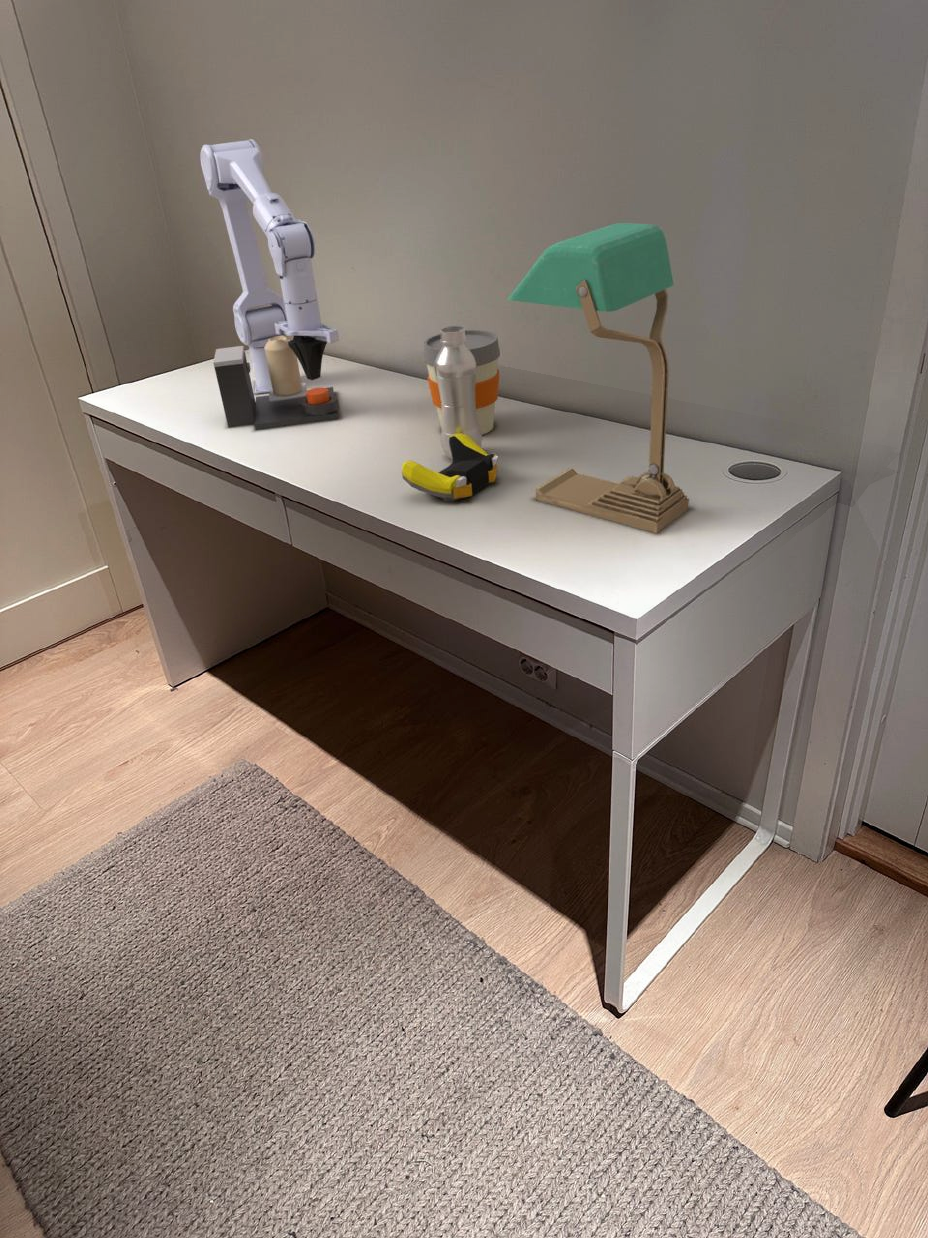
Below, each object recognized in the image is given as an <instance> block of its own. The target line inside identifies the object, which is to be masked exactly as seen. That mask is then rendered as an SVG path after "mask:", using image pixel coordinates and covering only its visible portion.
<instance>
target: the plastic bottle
mask: <svg viewBox="0 0 928 1238" xmlns="http://www.w3.org/2000/svg"><path fill="white" fill-rule="evenodd" d="M465 330H466V329H465V326H462V325H449V326H445V327H442V328H441V329H440V332H439V334H441V339H440V343H441V344H443V346H442V348H441V350H440V351H439V353H438V355H437V357H436V359H435V363H434V371H435V375H436V380H437V384H438V388H439V393H440V400H441V406H442V430H441V432H440V444H441V448H442V451H443V453H444V454H445V456H446V457H448V458H450V459H452V455H451V451H450V447H449V438H450V436H453V435H455V434H457V433H461V434H464V435H467V436H469V437H470V438H471V439H472V440H473V441H474V442H475V443H476V444H477V445H478V446H480V447H481V448H482V445H483V435H481V430H480V427H479V425H478V418H477V412H476V405H475V380H476V361H475V358H474V356H473V354H472V353H471V352H470V350H469V349H468V348H467V347H466V345H465V344H464V342H465V341H466V337H465Z"/></svg>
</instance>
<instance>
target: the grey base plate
mask: <svg viewBox="0 0 928 1238" xmlns="http://www.w3.org/2000/svg"><path fill="white" fill-rule="evenodd" d="M326 388H327V389H328V392H329V398H330V400H329V401H328V402H325V403H321V404H309V403H308V400H307V397H303V398H295V399H288V400H280V401H272V402H269V394H268V395H260V396H255V402H256V404H255V420H254V424H253V425H254V426H253V427H254V431H262V430H268V429H269V430H271V429H277V428H278V429H279V428H284V427H285V428H286V427H291V426H299V425H300V426H301V425H306V424H307V425H308V424H315V423H321V422H322V423H323V422H329V421H337V420H339V414H338V410H339V409H340V405H339V399H338V396H337V395H336V394H335V391H334V387H333V386H328V387H326ZM308 390H309V389H307V391H308Z"/></svg>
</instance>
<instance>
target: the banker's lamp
mask: <svg viewBox="0 0 928 1238" xmlns="http://www.w3.org/2000/svg"><path fill="white" fill-rule="evenodd" d="M673 286H674V279H673V273H672V267H671V261H670V256H669V249H668V244H667V238H666V236H665V234H664V231H663V230H662V229H661V228H660V227H659V226H658V225H654V224H652V223H651V224H650V223H633V222H632V223H631V222H620V223H613V224H610V225H608V226H603V227H601V228H597V229H595V230H592V231H588V232H585V233H583V234H579V235H576V236H573V237H570V238H567V239H564V240H561V241H558V242H556V243H553V244H552V245H550V246H548V247H547V248H546V249H545V250H544V251H543V252H542V253H541V255H540V256H539V258H538V259H537V260H536V261H535V263H534V264H533V265H532V267H531V268H530V269H529V271H528V272H527V273H526V275H524V277H523V278H522V280H520V283H519V284H518V285H517V286H516V287H515V289H514V290H513V291H512V293H511V294H510V295H509V297H508V298H507V300H508V301H511V302H518V303H519V302H520V303H527V304H535V305H543V306H551V307H552V306H553V307H561V308H570V309H578V310H583V313H584V317H585V320H586V323H587V327H588V330H589V332H590V334H592V335H593V336H595V337H597V338H600V339H607V340H615V341H623V342H630V343H638V344H641V345H643V346H644V347H645V348H646V349H647V352H648V355H649V358H650V362H651V368H652V383H651V386H652V387H651V388H652V389H651V408H650V410H651V411H650V432H649V455H648V456H649V457H648V471H646V472H645V471H644V472H643V473H641V474H639V476H636V475H631V476H627V477H625V478H624V479H622V480H621V481H620V482H618V483H617V482H614V481H609V480H605V479H601V478H597V477H594V476H589V475H587V474H586V475H585V474H581V473H578V472H577V471H576V470H575V469H574V468H573V467H568V468H567V469H565V470H564V471H562V472H561V473H559V474H557V475H556V476H554V477H552V478H550V479H548V480H547V481H546V482H544V483H542V484H541V485H538V486H537V487H536V488H535V500H536V501H539V502H542V503H546V504H549V505H553V506H557V507H560V508H564V509H567V510H571V511H575V512H578V513H582V514H586V515H589V516H592V517H596V518H600V519H604V520H607V521H610V522H613V523H618V524H622V525H625V526H629V527H633V528H634V529H635V528H636V529H638V530H639V529H640V530H642V531H646V532H650V533H654V534H658V533H659V532H660V531H661V530H663V529H664V528H665V527H667V526H668V525H669V524H671V523H672V522H674V520H676V519H678V518H679V517H680V516H681V515H683V514H684V513H685V512H686V511H687V510H689V506H690V505H689V504H690V503H689V502H690V498H688V495H686V494H685V492H684V491H683V488H681V487H680V486H676V485H675V482H674V480H673V478H672V477H671V476H670V475H669V474H668V473H667V472H665V452H666V435H667V414H668V397H669V395H668V393H669V376H670V374H669V370H670V369H669V359H668V355H667V351H666V347H665V345H664V343H663V332H664V326H665V321H666V318H667V317H666V316H667V312H668V307H669V294H668V291H667V289H669V288H671V287H673ZM653 295H654V296H655V299H656V311H655V313H654V317H653V321H652V325H651V329H650V332H649V335H648V336H649V337H644V336H639V335H635V334H630V333H626V332H622V331H618V330H613V329H608V328H607V327H604V326H603V325H602V323H601V320H600V317H599V314H598V312H605V313H609V312H611V313H612V312H616V311H619V310H621V309H624V308H625V307H628V306H631V305H633V304H635V303H637V302H640V301H642V300H643V299H644V300H645V299H646V298H648V297H651V296H653ZM644 476H647V477H646V478H643V477H644Z"/></svg>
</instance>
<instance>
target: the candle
mask: <svg viewBox="0 0 928 1238" xmlns="http://www.w3.org/2000/svg"><path fill="white" fill-rule="evenodd" d="M289 341H291V339H289V338H288V337H287V338H286V337H285V336H283V335H281V336H275V337H274V338H272V339H271V338H269V340H268V342H267V344H266V345H265V347H264V349H265V354H266V359H267V364H268V369H269V374H270V379H271V384H272V389H273V393H274V394H275V395H280V396H286V395H292V394H296V393H298V392H300V391H302V383H303V382H302V377H301V371H300V366H299V360H298V358H297V356H296V355H295V353H294V352H293V350H292V349H291V348H290V347H289V345H288V342H289Z"/></svg>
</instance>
